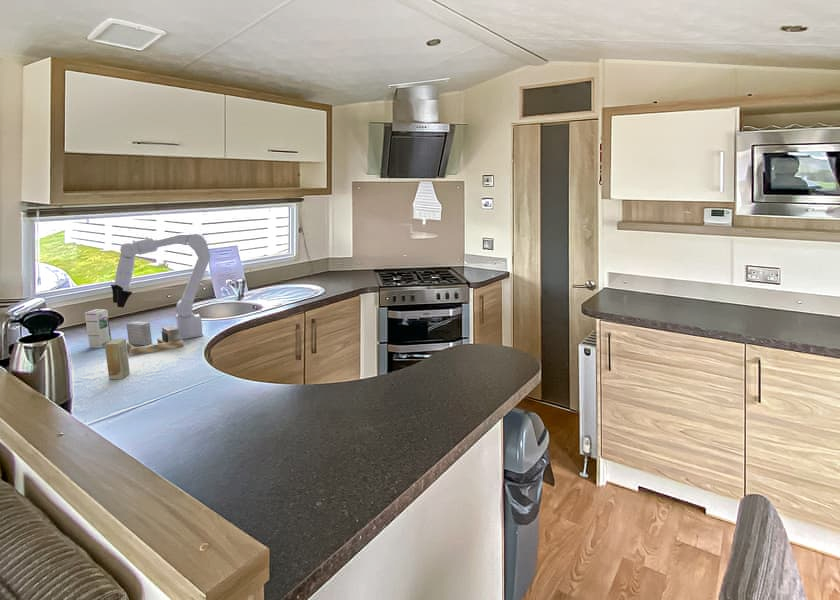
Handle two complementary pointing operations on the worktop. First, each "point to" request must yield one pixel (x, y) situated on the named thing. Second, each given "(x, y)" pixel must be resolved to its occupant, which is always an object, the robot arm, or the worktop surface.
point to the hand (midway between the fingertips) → (118, 304)
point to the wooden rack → (160, 342)
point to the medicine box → (139, 333)
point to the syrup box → (98, 328)
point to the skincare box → (117, 358)
